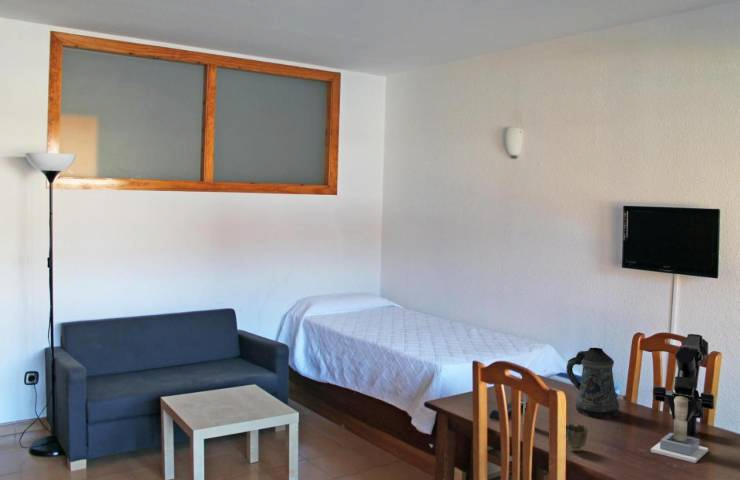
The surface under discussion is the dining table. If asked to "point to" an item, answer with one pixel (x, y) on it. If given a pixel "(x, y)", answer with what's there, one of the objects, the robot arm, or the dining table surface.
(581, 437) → the cup
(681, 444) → the socket block
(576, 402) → the beer stein
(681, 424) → the peg
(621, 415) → the dining table surface
